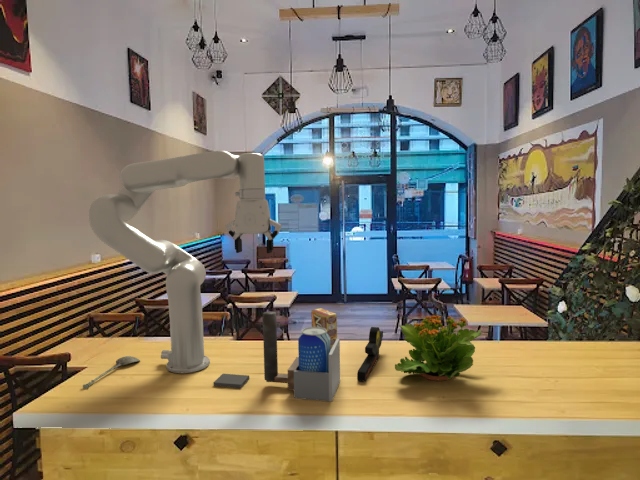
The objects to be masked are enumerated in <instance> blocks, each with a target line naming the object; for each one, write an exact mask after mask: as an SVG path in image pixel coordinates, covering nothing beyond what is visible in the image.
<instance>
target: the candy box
mask: <svg viewBox="0 0 640 480" xmlns="http://www.w3.org/2000/svg"><path fill="white" fill-rule="evenodd" d="M310 312H311V313H310V314H311V327H322V328H325V329H326V330H327V334H328V335H329V337H330V345H331V349H332V347H333V345H334V343H335V341H336V339H338V320H337V319H338V318H337V317H338V315H337V313H335V312H332V311H330V310H327V309H324V308H320V307H319V308H314V309H311V310H310Z"/></svg>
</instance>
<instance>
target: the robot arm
mask: <svg viewBox="0 0 640 480" xmlns="http://www.w3.org/2000/svg"><path fill="white" fill-rule="evenodd" d="M265 172H266V171H265V157H264V155H263V154H262V153H258V152H246V153H241V154H240V155H239V154H232V153H231V152H228V151H226V150H215V151H207V152H206V151H205V152H199V153H194V154H188V155H183V156H182V155H181V156H175V157H169V158H163V159H157V160H149V161H141V162H134V163H130V164H127V165H125V166H124V167H123V168H122V169H121V171H120V174H119V175H120V176H119V179H120V183H121V184H122V187H121V188H120V189H119V190H118V191H117V192H116V194H114V193H109V194H108V193H107V194H103V195H99V196H98V197H96V198H94V199H93V201H91V204H90V205H89V208H88V222H89V225H90V228H91V230H92V232H93V233H94V234H95V236H96V237H97V238H98V239H99V240H100V241H101V242H103V243H104V244H105V245H106V246H108V247H109V248H111V249H112V250H114V251H116V253H119V254H120V255H122V257H124V258H125V259H127V260H129V261H130V262H132V263H133V264H135V266H138V267H139V268H140V269H142V270H143V271H145V272H146V273H149V274H153V275H155V274H159V273H161V272H162V273H163V274H165V275H166V278H165V288H166V289H165V290H166V295H167V301H168V302H167V303H168V316H169V327H170V329H169V331H170V332H169V334H170V349H171V350H169V349H168V350H166V349H163V350H162V351H161V354H160V358H161V359H162V360H163V359H165V360H168V362H167V363H166V369H167V371H169V372H170V373H174V374H188V373H190V374H191V373H196V372H198V371H201V370H203V369H206V368H207V367H208V366H209V365H210V364H211V363H210V362H211V361H210V360H211V359H210V358H209V357H208V356H206V355H205V345H204V343H205V341H204V321H203V319H204V317H203V302H202V301H203V300H202V294H201V285H203V283H204V281H205V280H206V276H207V273H206V268H205V266H204V264H203V263H202V262H201V261H199V259H197V258H195V257H194V256H192V255H191V254H190V253H188V252H187V251H186V250H184V249H183V248H181V247H180V246H178V245H176V244H175V243H173V242H172V241H169V240H166V239H156V240H155V239H152V238H151V237H150V236H147V235H146V234H145V233H143V232H141V231H140V230H139V229H137V228H135V227H134V226H132V225H130V224H129V223H127V222H128V221H131V220H132V219H133V218H134V217H135V216H136V215H137V214H138V213H139V212H140V210H141V209H142V208H143V206H144V205H145V204H146V203H147V201H148V200H150V198H151V196H152V195H153V194H154V192H155V191H160V190H167V189H175V188H181V187H184V186H186V185H188V184H191V183H194V182H195V183H196V182H200V181H207V180H214V179H225V180H231V179H232V180H233V179H237V178H238V188H239V189H238V191H236V192H235V193H234V194H235V197H238V198H239V200H236V205H235V211H234V212H235V214H234V219H233V220H232V221H230V222H229V223H227V224H226V225H225V229H226V230H227V232H228V234H229V235H230V237H231V238H232V239H233V240H234V250H235V253H236V254H238V253H241V252H242V251H243V240H242V238H241V237H242V235H244V234H245V235H247V234H248V235H250V234H251V235H259V234H260V235H261V234H263V235H264V236H265V237H266V238H267V239H266V241H265V242H266V243H265V244H266V246H265V247H266V248H265V249H266V254H271V253H273V251H274V239H275V238H276V237H277V236H278V234H279V233H280V231H281V228H282V227H283V226H282V224H281V223H279V222H277V221H276V220H274V219H271V212H270V206H269V201H268V199H266V176H265V174H266V173H265ZM272 226H273V227H274V230H273V232H272V230H271V229H272ZM233 227H234V229H233Z"/></svg>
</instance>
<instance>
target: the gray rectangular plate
mask: <svg viewBox="0 0 640 480" xmlns="http://www.w3.org/2000/svg"><path fill="white" fill-rule="evenodd" d="M249 380H250V375H247V374H233V373H232V374H231V373H222V374H220V376H218V378H216V379H215V380H214V381H213V382H212V383H213V387H224V388H233V389H234V388H235V389H236V388H237V389H242V388H243V387H244V386H245V384H247V382H248V381H249Z"/></svg>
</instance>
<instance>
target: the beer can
mask: <svg viewBox="0 0 640 480" xmlns="http://www.w3.org/2000/svg"><path fill="white" fill-rule="evenodd" d="M299 335H300V336H299V337H298V345H297V346H298V347H297V348H298V357H299V371H312V372H326V373H329V353H330V351H331V345H330V337H329V335H328V334H327V330H326V329H325V328H322V327H312V326H308V327H304V328H303V329H301V333H300V334H299Z"/></svg>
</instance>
